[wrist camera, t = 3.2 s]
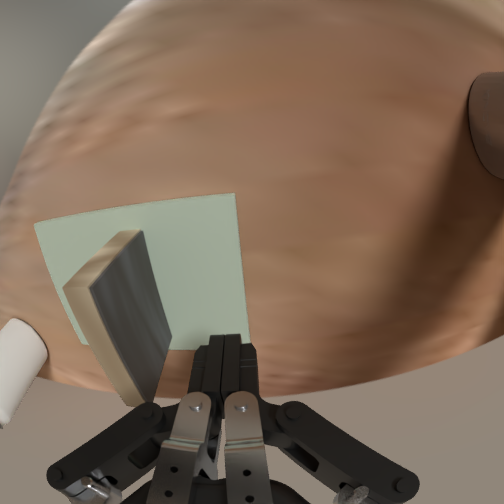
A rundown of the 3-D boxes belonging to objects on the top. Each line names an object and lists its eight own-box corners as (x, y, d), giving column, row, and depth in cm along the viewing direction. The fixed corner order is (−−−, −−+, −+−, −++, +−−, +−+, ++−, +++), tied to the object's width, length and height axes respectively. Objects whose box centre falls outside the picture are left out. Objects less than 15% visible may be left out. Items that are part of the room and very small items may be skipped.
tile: (143, 228, 16) (90, 287, 10) (172, 336, 20) (151, 409, 14) (119, 231, 16) (61, 287, 10) (152, 336, 20) (126, 405, 14)
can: (3, 318, 21) (-47, 382, 10) (27, 313, 21) (-31, 391, 10) (31, 358, 24) (-9, 425, 13) (58, 358, 23) (15, 437, 12)
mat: (235, 192, 16) (234, 195, 16) (250, 343, 21) (250, 348, 21) (38, 221, 17) (33, 224, 16) (84, 340, 22) (82, 344, 21)
